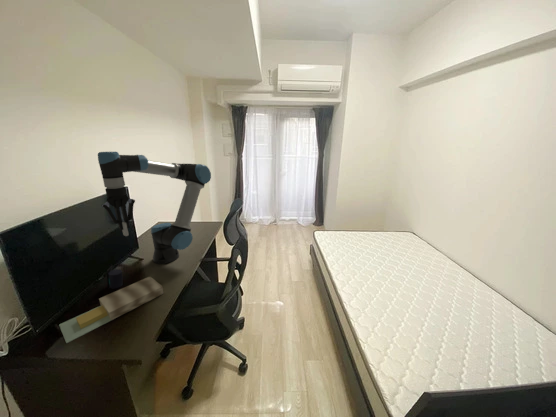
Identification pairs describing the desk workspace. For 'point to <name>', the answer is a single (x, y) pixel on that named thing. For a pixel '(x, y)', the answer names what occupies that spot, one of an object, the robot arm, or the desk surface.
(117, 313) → the deck
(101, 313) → the yellow flat block
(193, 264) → the desk surface
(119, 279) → the speaker
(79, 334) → the mat
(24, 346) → the desk surface
